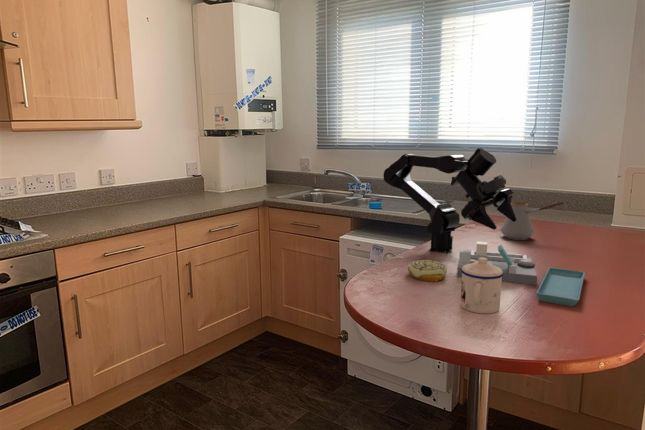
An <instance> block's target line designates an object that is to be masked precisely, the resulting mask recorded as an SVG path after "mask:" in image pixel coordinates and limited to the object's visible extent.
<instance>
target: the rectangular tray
mask: <svg viewBox="0 0 645 430" xmlns="http://www.w3.org/2000/svg"><path fill="white" fill-rule="evenodd" d="M585 274H586V272H584V271H578V270H572V269H563V268H558V267H557V268H555V267H548V269H547V271H546V273H545V274H544V277H543V279H542V281H541V282H540V285H539V287H538V288H537V291H535V294H536V296H537V298H538V300H539V301H541V302H544V303H549V304H550V303H551V304H557V305H563V306H567V307H575V306H576V304H577V303H578V302H579V301H580V297H581V294H582V293H581V292H582V288H583V283H584V279H585Z"/></svg>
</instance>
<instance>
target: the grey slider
mask: <svg viewBox="0 0 645 430" xmlns="http://www.w3.org/2000/svg"><path fill="white" fill-rule="evenodd" d="M471 251H472V249H462V248H461V249H459V255H458V256H459V258H458V263H462V264H470V263H471Z"/></svg>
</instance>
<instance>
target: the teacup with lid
mask: <svg viewBox="0 0 645 430" xmlns="http://www.w3.org/2000/svg"><path fill="white" fill-rule="evenodd" d="M461 272H462V278H461V286H460V288H461V289H460V306H461V307H462V309H464V310H466V311H469V312H471V313H475V314H484V315H485V314H487V315H488V314H494V313H497V312H498V311H499V310H500V309H501V308H500V307H501V294H502V293H501V292H502V276H503V271H502V270H501V269H500V268H499V267H496V266H494V265H492V264H491V263H489V262H487V258H483V257H481V258H479V259H478V261H476V262H473V263H472V264H466V265H464V266H463V267H462V269H461Z"/></svg>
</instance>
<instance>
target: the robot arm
mask: <svg viewBox="0 0 645 430" xmlns="http://www.w3.org/2000/svg"><path fill="white" fill-rule="evenodd" d="M496 163H497V158H496V157H495V156H494V155H493V154H491V153H490V152H488V151H486V150H485V149H483V148H482V147H478V148H477V149H475V151H474V152H473V154H472V155H471V156H470V157H469V158H466V157H465V156H464V155H463V154H453V155H452V154H451V155H440V156H435V155H423V154H422V155H421V154H414V153H405V154H403V155H401V156H400V158H398V159H397V160H396V161H395V162H393V163H391V165H389V167H387V168H385V169H384V170H383V181H384V182H385V183H386V184H388V185H389V186H391V187H393V188H396V189H398V190H401V191H402V192H404V193H405V194H406V195H407V196H408V197H409V198H410V199H411V200H413V201H414V202H415V203H416V204H417V205H418V206H420V207H421V208H422V210H424V212H426V213H427V214H428V216H429V219H430V221H431V222H430V223H429V224H427V225H426V229H427V232H428V233H430V248H429V251H431V252H439V253H440V252H441V253H442V252H443V253H450V252H451V250H453V242H454V241H453V239H454V236H453V235H452V232H455V230H456V229H457V227H458V225H459V223H460V220H461V219H460V214H459V212H457V211H458V209H456V208H454V207H453V206H452V204H450V203H448V202H446V203H439V202H438V201H436V200H435V199H434V198H433V197H432V196H431V195H430V194H429V193H428V192H426V191H425V190H423V189H422V188H421V187H420V186H419V185H418V184H416V183H415V182H414V181H413V180H412V178H411V175H410V173H411V172H412V169H413V167H418V168H419V167H422V168H431V169H435V170H437V171H440V172H442V173H445V174H456V175H455V176H451V181H450V186H458V185H459V186H460V188H462V190H463V191H464V192H465V193H466V194H465V195H464V197H465V198H466V199H467V200H468V199H471V200H470V201H468V202H466V204H465V205H464V207H463V208H462V209H461V210H460V213H461V216H462V218H463V219H464V220H469V221H472V222H476V223H478V224H480V225H483V226H485V227H487V228H489V229H491V230H493V231H495V230H496V229H497V228H498V227H497V225H496V224H495V222H494V221H493V219H492V218H491V217H490V216H489V214H488V213H487V210H486V208H487V207H489V206H492V205H493V206H494V208H496V211H498V212H499V213H501V214H502V215H503V216H505V217H506V218H509V219H510V220H512V221H513V222H515V221H516V220H517V219H516V216H515V214H514V211H513V209H512V206H511V203H512V199H513V198H514V196H515V193H514V192H513V190H511V189H510V188H506V184H507V179H506V178H505V177H504V176H502V175H501V174H499V175H497V176H494V177H493V179H492V180H491V179H490V181H486V180H484V181H482V180H481V179H480V178H479V176H481V177H484V176H485V175H486V174H487V173H488V172H489V170H490V169H492V167H494V165H495V164H496ZM501 189H502V190H501ZM497 191H498V192H497Z"/></svg>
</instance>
